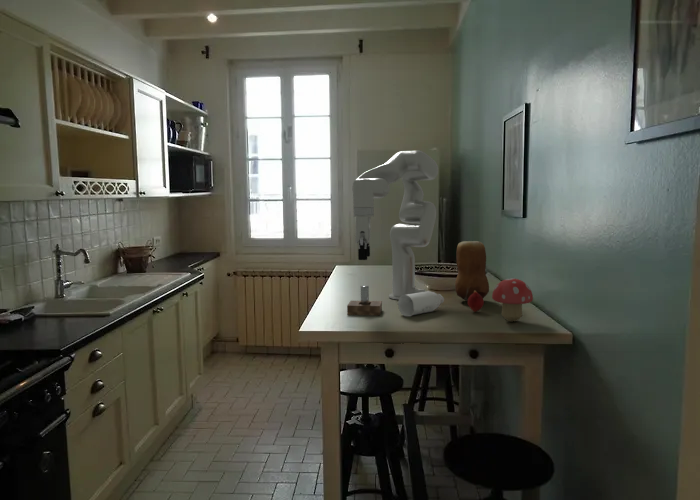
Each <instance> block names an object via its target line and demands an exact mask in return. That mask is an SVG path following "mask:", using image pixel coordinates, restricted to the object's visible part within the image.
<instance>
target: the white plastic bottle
mask: <svg viewBox="0 0 700 500" xmlns="http://www.w3.org/2000/svg"><path fill="white" fill-rule="evenodd" d="M444 301H445V298H444V296H443V295H442V294H441V293H437V292H435V291H430V290H425V292H419V293H413V294H407V295H402V296H401V297H399V300H397V307H398V310H399V313H400V314H401V315H402V316H403V317H412V316H416V315H420V314H425V313H426V314H427V313H432V312H434V311H435V310H436V309H438V308H439V307H440V305H441V304H443V303H444Z"/></svg>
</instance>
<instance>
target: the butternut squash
mask: <svg viewBox="0 0 700 500" xmlns="http://www.w3.org/2000/svg"><path fill="white" fill-rule="evenodd" d="M486 265H487V252H486V247H485V245H484V243H483V242H481V241H478V240H473V241H472V240H468V241H466V240H463V241H461V242H459V243H458V244H457V247H456V267H457V276H456V278H455V282H454V289H455V292H456V296H458V297H460V298H461V299H462V300H464V301H466V302H468V298H469V297H470V295H472V294H473V293H474V291H476V292H477V293H478V294H480V295H481V296H482V298H483V299H484V298H485V297H486V296H487V295H488V294H489V291H490V284H489V279H488V277H487V274H486V269H487V266H486Z"/></svg>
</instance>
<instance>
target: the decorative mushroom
mask: <svg viewBox="0 0 700 500" xmlns="http://www.w3.org/2000/svg"><path fill="white" fill-rule="evenodd" d="M533 295H534V294H533V291H532V290H531V287H530V286H529V285H528V284H527V283H526V282H525V281H523V280H522V279H519V278H513V277H511V278H505V279H503V280H501V281H499V282H498V283H497V284H496V285H495V287H494V289H493V291H492V296H491V298H492V300H493V301H494V302H497V303H501V316H502V317H503V319H505V320H506V321H508V322H511V323H513V321H514V322H516V321H518V320H520V319H521V318H523V305H526V304H529V303H531V302H533V300H534V297H533Z"/></svg>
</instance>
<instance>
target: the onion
mask: <svg viewBox="0 0 700 500" xmlns="http://www.w3.org/2000/svg"><path fill="white" fill-rule="evenodd" d="M484 303H485V301H484V298H482V296H481V295H480V294H478V293H477V292H476V291H474V293H473V294H472V295H470V297H469V298H468V301H467V305H468V307H469V308H470V309H471V311H472V312H474V313H476V312H478V311H480V310H482V308H483V307H484Z"/></svg>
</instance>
